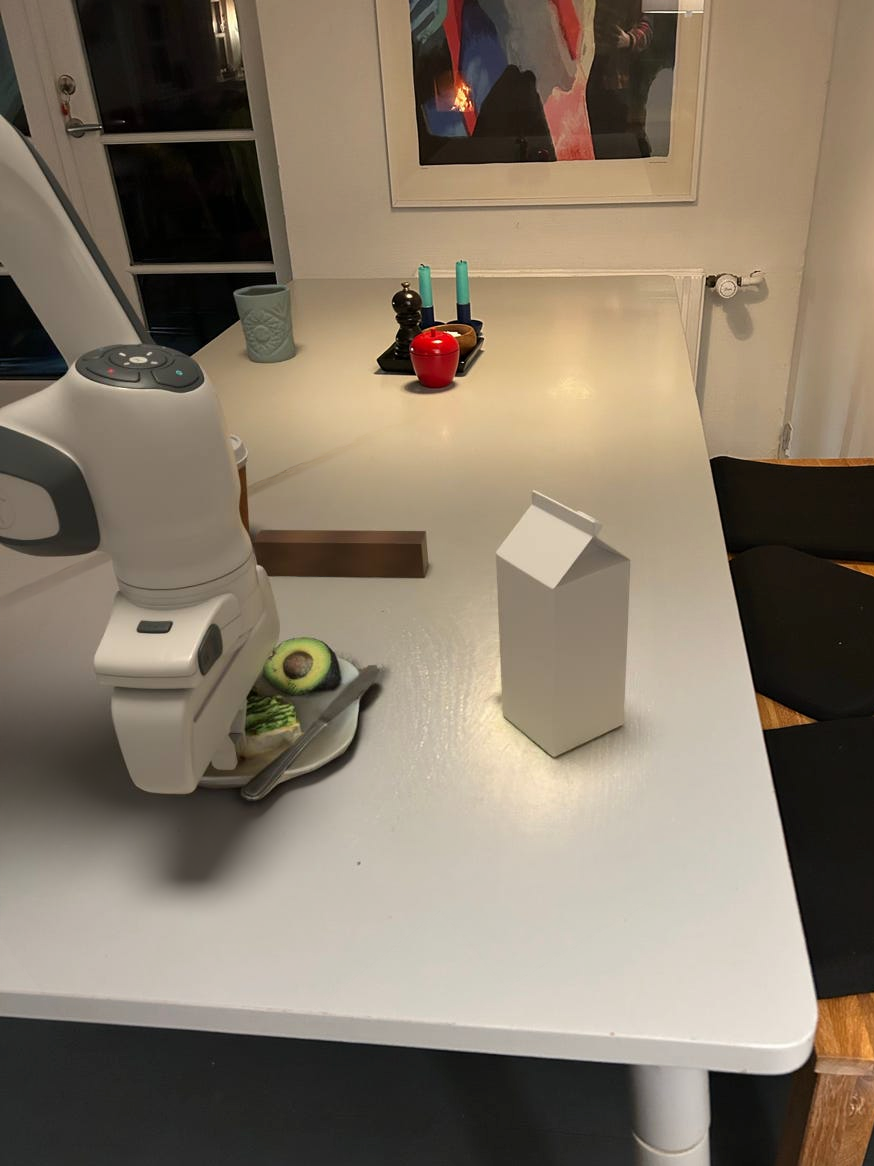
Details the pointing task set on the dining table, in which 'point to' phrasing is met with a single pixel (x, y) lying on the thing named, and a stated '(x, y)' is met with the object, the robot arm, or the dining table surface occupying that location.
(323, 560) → the rail
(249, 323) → the drinking glass
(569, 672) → the milk carton
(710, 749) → the dining table surface
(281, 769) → the salad plate
